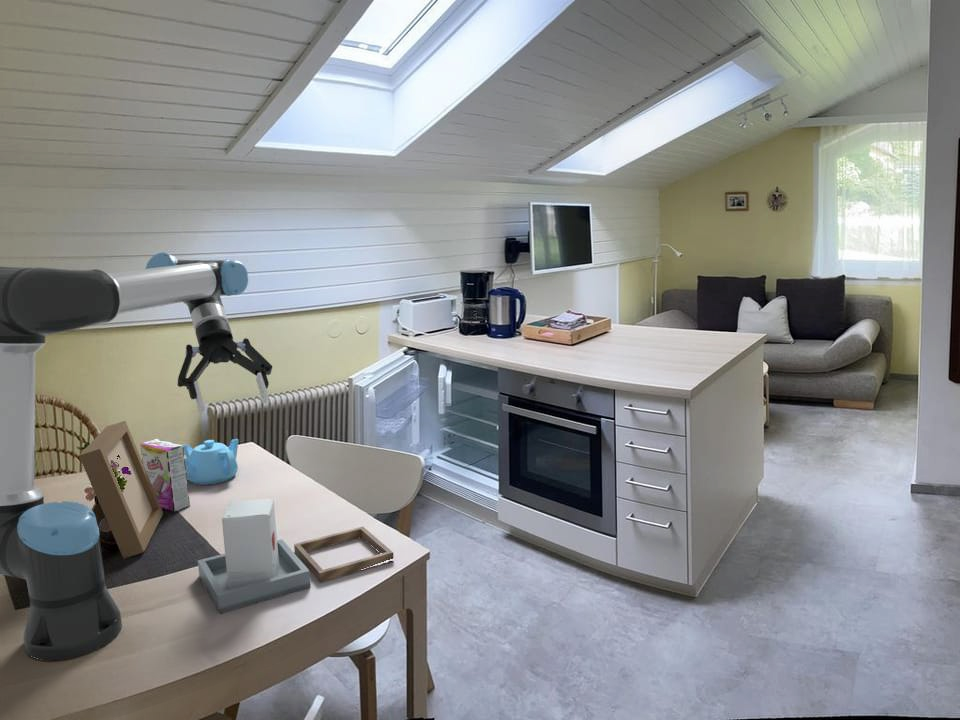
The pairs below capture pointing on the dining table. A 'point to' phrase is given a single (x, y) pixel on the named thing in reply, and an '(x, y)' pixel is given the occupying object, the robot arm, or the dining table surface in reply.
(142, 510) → the photo frame
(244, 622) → the dining table surface
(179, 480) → the candy bar box
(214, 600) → the grey tray
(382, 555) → the walnut collar
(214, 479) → the teapot
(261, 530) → the supplement box
